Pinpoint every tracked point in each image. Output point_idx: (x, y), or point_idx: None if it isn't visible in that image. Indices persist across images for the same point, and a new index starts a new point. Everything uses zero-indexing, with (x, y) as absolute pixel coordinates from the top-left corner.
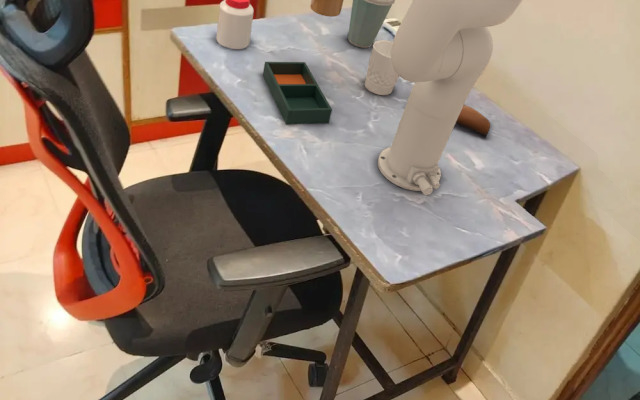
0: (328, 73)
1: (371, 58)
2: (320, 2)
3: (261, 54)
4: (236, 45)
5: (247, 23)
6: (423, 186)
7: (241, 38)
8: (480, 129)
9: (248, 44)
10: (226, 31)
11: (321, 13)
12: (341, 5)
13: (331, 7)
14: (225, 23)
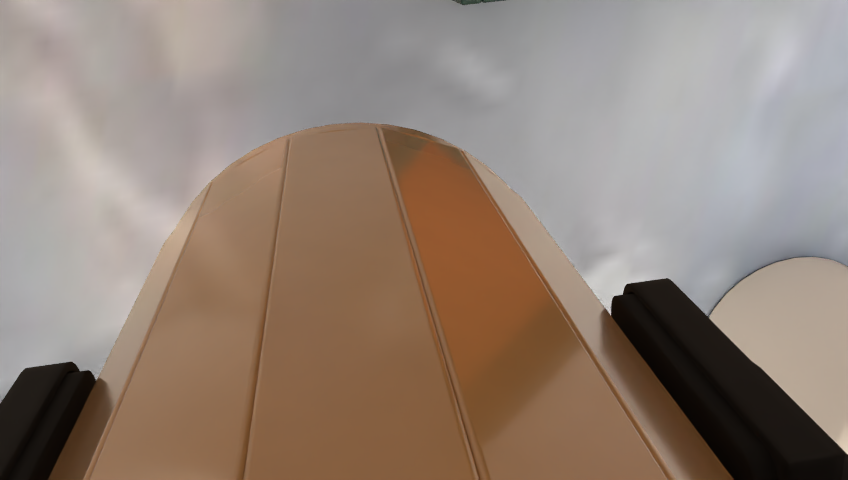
0: (237, 52)
1: None
2: (532, 224)
3: (657, 227)
4: (812, 267)
5: (845, 355)
6: None
7: (815, 290)
8: None
9: (716, 313)
10: None
11: (463, 151)
12: (161, 261)
13: (353, 156)
14: None
